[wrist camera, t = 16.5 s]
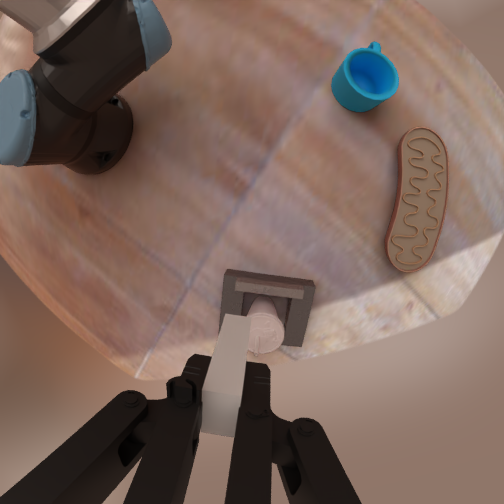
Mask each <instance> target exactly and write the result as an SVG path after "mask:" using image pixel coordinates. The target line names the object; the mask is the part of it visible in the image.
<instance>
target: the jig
mask: <svg viewBox="0 0 504 504" xmlns="http://www.w3.org/2000/svg"><path fill="white" fill-rule="evenodd" d="M314 291H315V285H314V282H313V280H306V279H298V278H290V277H283V276H275V275H268V274H260V273H253V272H246V271H238V270H231V269H227V270H226V272H225V274H224V282H223V292H222V303H221V313H220V324H219V333H220V330H221V326H222V323H223V320H224V317H225V314H232V315H239V316H241V314H242V307H243V299H244V292H250V293H258V294H265V295H273V296H281V297H288V298H289V303H288V308H287V313H286V318H285V323H284V330H285V332H284V340H283V342H282V344H281V345H287V346H296V347H302V343H303V339H304V335H305V331H306V327H307V323H308V318H309V314H310V310H311V305H312V301H313V296H314ZM218 336H219V335H218Z"/></svg>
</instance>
